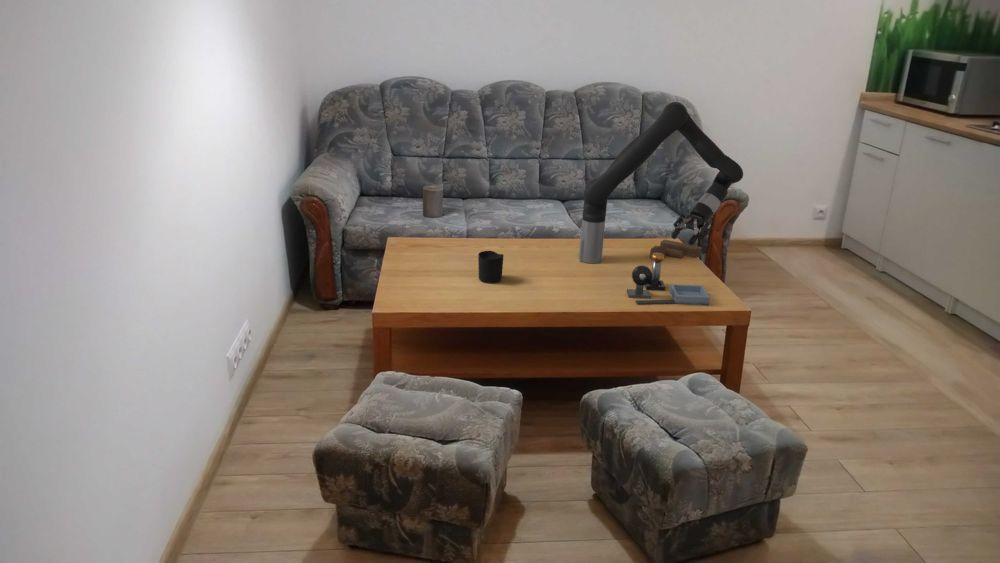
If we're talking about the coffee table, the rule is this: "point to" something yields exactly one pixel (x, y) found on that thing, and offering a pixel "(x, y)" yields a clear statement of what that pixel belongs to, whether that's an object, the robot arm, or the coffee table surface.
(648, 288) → the frame
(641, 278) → the pulley stand
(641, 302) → the strip
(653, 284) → the pin
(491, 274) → the pen holder
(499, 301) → the coffee table surface
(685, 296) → the tray
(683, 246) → the wooden block set
